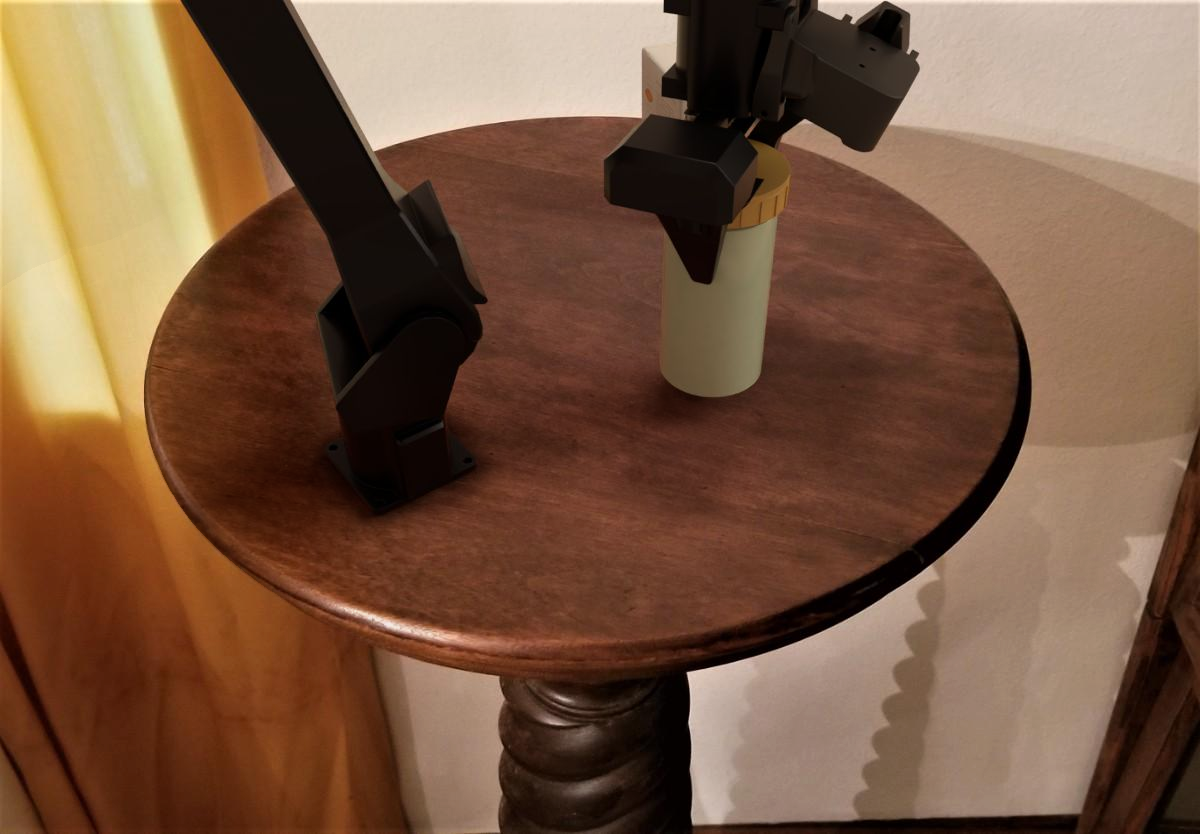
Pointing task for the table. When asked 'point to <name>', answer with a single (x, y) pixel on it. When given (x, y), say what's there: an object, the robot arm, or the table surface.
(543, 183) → the table surface
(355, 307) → the robot arm
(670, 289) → the jar
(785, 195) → the jar lid
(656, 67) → the small box
